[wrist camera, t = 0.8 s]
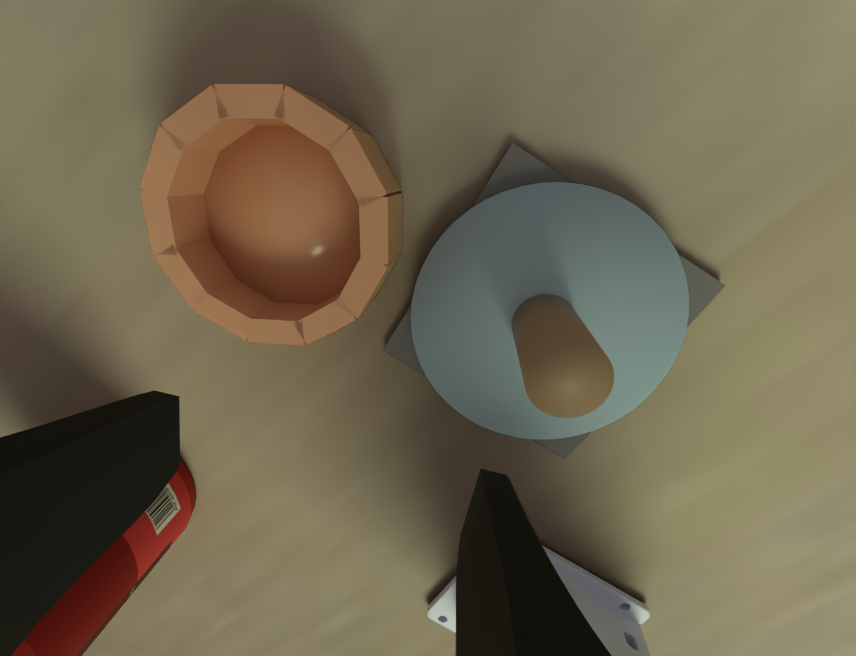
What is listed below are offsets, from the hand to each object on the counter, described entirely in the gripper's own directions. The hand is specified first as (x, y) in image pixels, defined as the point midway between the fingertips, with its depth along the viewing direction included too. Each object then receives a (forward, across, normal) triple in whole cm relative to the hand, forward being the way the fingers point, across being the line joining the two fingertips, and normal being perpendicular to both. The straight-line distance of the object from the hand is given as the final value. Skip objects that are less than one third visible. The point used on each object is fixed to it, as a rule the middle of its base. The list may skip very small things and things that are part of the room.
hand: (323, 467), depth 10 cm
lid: (+10, -6, -2) cm, 11 cm away
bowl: (+10, +5, -4) cm, 12 cm away
